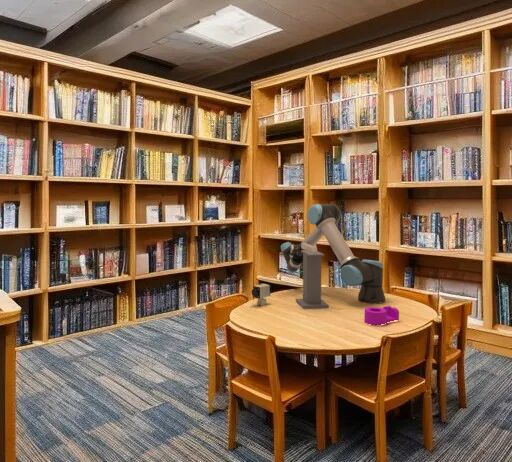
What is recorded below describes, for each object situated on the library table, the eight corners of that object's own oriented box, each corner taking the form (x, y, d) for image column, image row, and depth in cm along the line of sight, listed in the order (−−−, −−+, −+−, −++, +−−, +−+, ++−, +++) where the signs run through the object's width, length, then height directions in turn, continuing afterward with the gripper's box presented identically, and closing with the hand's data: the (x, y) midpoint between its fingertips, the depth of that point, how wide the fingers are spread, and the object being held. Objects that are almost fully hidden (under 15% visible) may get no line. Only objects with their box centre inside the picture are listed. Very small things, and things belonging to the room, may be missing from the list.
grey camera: (272, 303, 231) (272, 282, 230) (257, 307, 222) (257, 285, 221) (264, 302, 234) (264, 281, 233) (250, 305, 226) (250, 284, 225)
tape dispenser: (374, 327, 189) (375, 314, 189) (359, 321, 198) (360, 308, 197) (400, 322, 197) (400, 309, 196) (384, 317, 206) (384, 304, 205)
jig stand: (329, 308, 221) (329, 254, 218) (303, 309, 219) (303, 254, 216) (319, 300, 238) (319, 249, 236) (295, 300, 236) (295, 250, 234)
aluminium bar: (317, 253, 222) (317, 247, 222) (311, 253, 222) (311, 247, 222) (306, 248, 244) (306, 243, 244) (301, 248, 244) (301, 243, 243)
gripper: (316, 264, 261) (325, 251, 242) (277, 266, 257) (283, 252, 238) (315, 253, 264) (324, 240, 245) (276, 254, 260) (282, 240, 241)
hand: (304, 246), depth 241 cm, fingers open, 13 cm apart
